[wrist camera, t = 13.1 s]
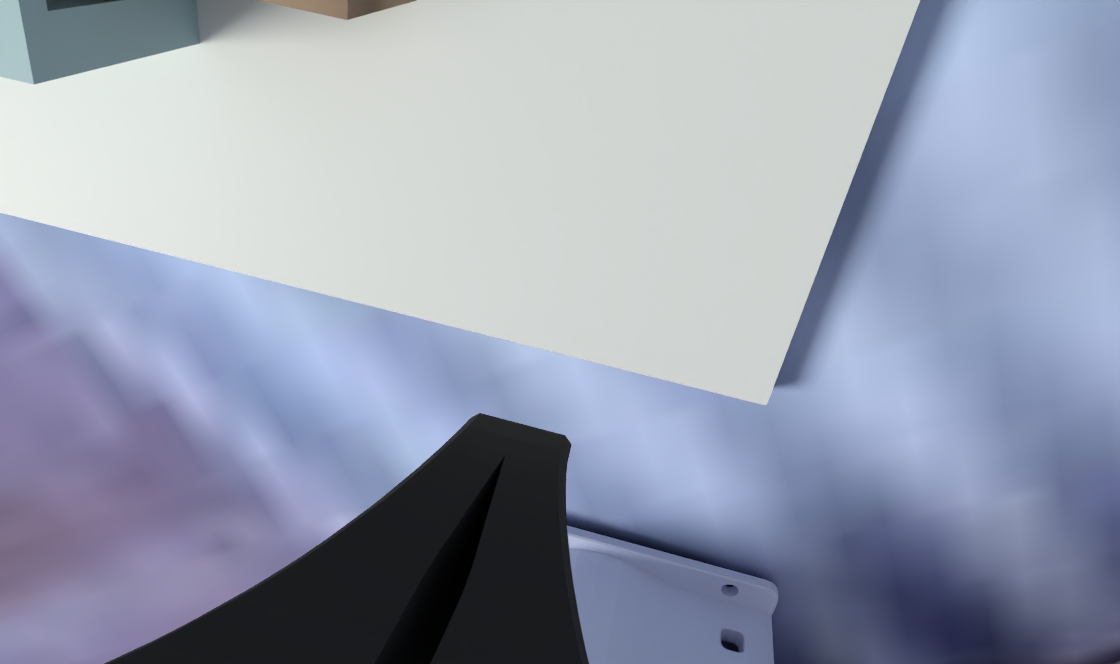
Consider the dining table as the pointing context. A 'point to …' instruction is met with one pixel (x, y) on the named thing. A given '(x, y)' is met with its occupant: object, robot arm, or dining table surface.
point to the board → (489, 164)
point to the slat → (340, 6)
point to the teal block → (88, 34)
